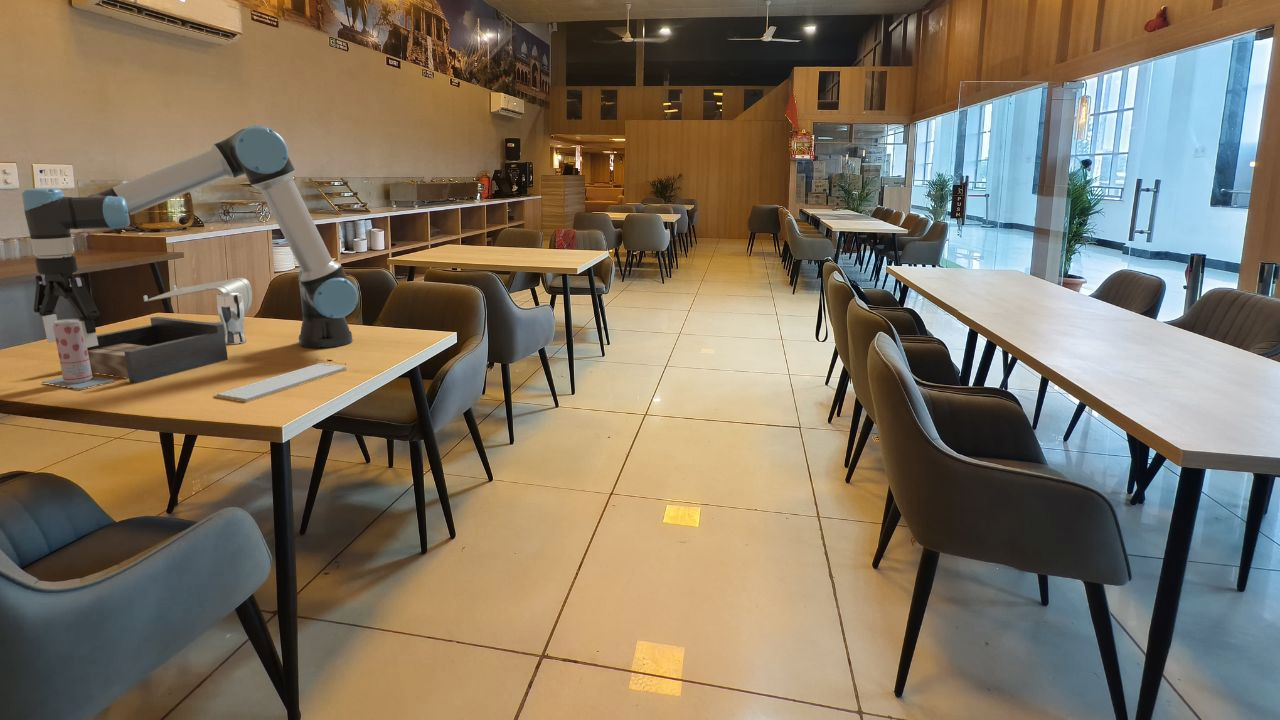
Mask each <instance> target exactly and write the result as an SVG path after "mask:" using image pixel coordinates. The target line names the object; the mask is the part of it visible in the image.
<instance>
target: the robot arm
mask: <svg viewBox="0 0 1280 720" xmlns="http://www.w3.org/2000/svg"><path fill="white" fill-rule="evenodd" d="M295 174H296V170H295V168H294V165H293V163H292V161H291V159H290V157H289V149H288V146H287V143H286V141H285V139H284V138H283V137H282V136H281V135H280V134H279V133H277V132H276V131H275V130H273V129H271V128H269V127H267V126H263V125H252V126H248V127H246V128H242V129H240V130H238V131H237V132H235V133H233V134H232V135H230V136H229V137H227V138H225V139H222V140H221V141H219V142H217V143H216V142H215V143H213V144H212V145H211V148H210V150H207V151H205V152H201V153H198V154H197V155H194V156H191V157H189V158H186V159H184V160H181V161H178V162H176V163H172V164H170V165H167V166H165V167H163V168H160V169H158V170H155V171H152V172H150V173H146V174H145V175H142V176H139V177H137V178H134V179H132V180H129V181H126V182H124V183H121V184H119V185H116V186H114V187H112V188H109V189H106V190H103V191H100V192H97V193H93V194H90V195H88V196H79V197H78V196H75V197H73V196H71V197H70V196H65V194H64V193H63V191H62V190H61V189H60V188H28V189H27V188H26V189H25V190H23V192H22V194H21V195H22V203H23V211H24V215H25V220H26V224H27V228H28V233H29V238H30V242H31V248H32V253H33V256H36V258H35V259H34V261H35V262H34V263H35V266H36V270H37V273H38V274H40V275H35V278H34V279H35V284H36V285H35V294H34V303H33V312H34V313H38V314H39V316H41V319H42V322H43V327H44V328H43V329H44V330H45V331H44V332H45V337H46V341H47V343H48V344H49V343H56V338H55V333H54V328H53V325H54V323H53V322H54V321H58V316H57V313H56V311H55V309H56V306H57V304H58V301H59V299H60V297H63V299H66V300H67V301H68V302H69V304H70V305H71V306H72V308H73V309H74V310H75V312H76V314H77V315H78V316H79V317H80V318H78V319H79V322H80V327H81V332H82V337H83V342H84V347H85V348H88V347H93V346H97V345H98V340H97V335H98V334H97V328H96V324H95V319H97V317H98V318H99V317H100V316H101V314H100V311H99V309H98V306H97V305H96V303H95V302H94V300H93V298H92V296H91V294H90V292H89V290H88V288H87V286H86V281H85V279H84V277H83V276H80V277H74V275H73V273H75V272H77V271H78V264H77V258H76V257H75V256H74V255H73V254H74V253H75V251H74V250H75V249H74V245H73V244H74V242H73V240H72V234H71V230H93V229H94V230H99V229H101V230H103V229H113V230H114V229H121V228H122V229H123V228H127V227H129V226H130V224H131V220H130V216H131V215H134V214H137V213H139V212H141V211H144V210H147V209H149V208H152V207H154V206H156V205H159V204H161V203H165V202H166V201H170V200H171V199H174V198H177V197H179V196H182V195H184V194H187V193H190V192H192V191H194V190H197V189H200V188H202V187H204V186H207V185H210V184H212V183H214V182H217V181H219V180H222V179H225V178H230V179H231V180H232V179H235V178H238V177H241V176H243V175H244V176H246V178H247V180H248V182H249V184H250V186H251V187H253V188H255V189H258V190H260V192H261V194H262V196H263V198H264V199H265V201H266V204H267V205H268V207H269V209H270V211H271V213H272V216H273V217H274V219H275V221H276V224H277V225H278V228H279V229H280V231H281V233H282V235H283V237H284V239H285V242H287V245H288V247H289V248H290V250H291V252H292V254H293V257H294V259H295V260H296V262H297V264H298V266H299V268H300V270H299V271H298V279H297V281H298V283H299V293H300V294H299V295H300V302H301V303H300V304H301V309H302V310H301V312H302V323H301V327H300V334H299V335H298V344H299V346H300V345H301V347H303V346H305V348H310V347H319V348H318V349H320V347H323V349H324V347H325V348H333V347H334V346H335V347H340V346H344V345H348V344H351V343H352V342H353V340H354V339H353V333H352V331H351V330H350V327H349V325H348V322H347V319H346V316H348V315H349V314H351V313H352V312H353V311H354V310H355V308H356V307H357V304H358V301H359V295H358V291H357V288H356V286H355V285H354V283H352V281H350V280H349V279H348V277H347V274H346V272H345V270H344V268H343V266H342V265H341V263H339V262H337V261H334V260H333V258H332V257H331V254H330V253H329V250H328V248H327V246H326V244H325V242H324V240H323V238H322V236H321V234H320V232H319V230H318V228H317V226H316V224H315V222H314V220H313V218H312V216H311V213H310V212H309V209H308V207H307V206H306V204H305V201H304V199H303V197H302V195H301V193H300V191H299V189H298V187H297V185H296V183H295V181H294V175H295Z"/></svg>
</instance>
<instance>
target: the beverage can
mask: <svg viewBox="0 0 1280 720" xmlns="http://www.w3.org/2000/svg"><path fill="white" fill-rule="evenodd" d="M79 319H80V318H67V319H66V318H64V319H57V321H54V322H53V323H54V325H53V328H54V333H55V338H56V342H55V343H56V348H57V352H58V358H59V364H60V369H61V374H62V375H61V376H62V377H63V380H64V382H66V383H68V384H75V383H83V382H87V381H90V380H91V379H92V378H93V377H94V376H93V374H92V372H91V366H90V361H89V356H88V351H87V348H85V347H84V342H83V337H82V332H81V327H80V322H79ZM92 376H93V377H92Z"/></svg>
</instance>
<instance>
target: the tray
mask: <svg viewBox="0 0 1280 720" xmlns="http://www.w3.org/2000/svg"><path fill="white" fill-rule="evenodd" d="M149 319H150V324H147V325H144V326H143V325H142V326H138V327H137V326H136V327H132V328H128V329H127V328H126V329H122V330H117V331H111V332H106V333H102V334H101V333H99V334H96V335H97V340H98V345H97V346H93V347H88V348H87V351H88V350H93V349H100V348H103V347H107V346H113V345H117V344H122V343H126V344H134V345H142V346H146V347H142V348H137V349H133V350H128V351H124V352H125V358H126V364H127V370H128V376H129V378H128V380H129V383H130V384H134V383H135V384H139V383H144V382H146V381H151V380H155V379H159V378H162V377H166V376H169V375H173V374H178V373H182V372H185V371H191V370H192V369H198V368H201V367H205V366H208V365H212V364H217V363H220V362H224V361H228V360H229V358H228V349H227V344H226V341H225V334H224V326H223V324H216V323H207V322H208V321H199V320H198V321H195V320H189V319H188V320H187V319H181V318H171V317H162V316H152V317H150V318H149ZM135 384H134V385H135Z"/></svg>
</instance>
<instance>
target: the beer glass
mask: <svg viewBox="0 0 1280 720" xmlns="http://www.w3.org/2000/svg"><path fill="white" fill-rule="evenodd" d="M216 303H217V304H216V305H217V313H218V315H219V316H218V317H219V319H220V321H221V323H222V324H223V326H224V334H225V341H226V345H230V344H232V345H240V344H239V343H241V344H245V343H246V342H247V338H246V335H245V331H244V330H245V329H244V326H245V325H244V324H245V323H244V321H245V315H244V304H243V299H242V294H241V293H240V292H226V293H222V292H220V293H217V294H216ZM244 342H245V343H244Z"/></svg>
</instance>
